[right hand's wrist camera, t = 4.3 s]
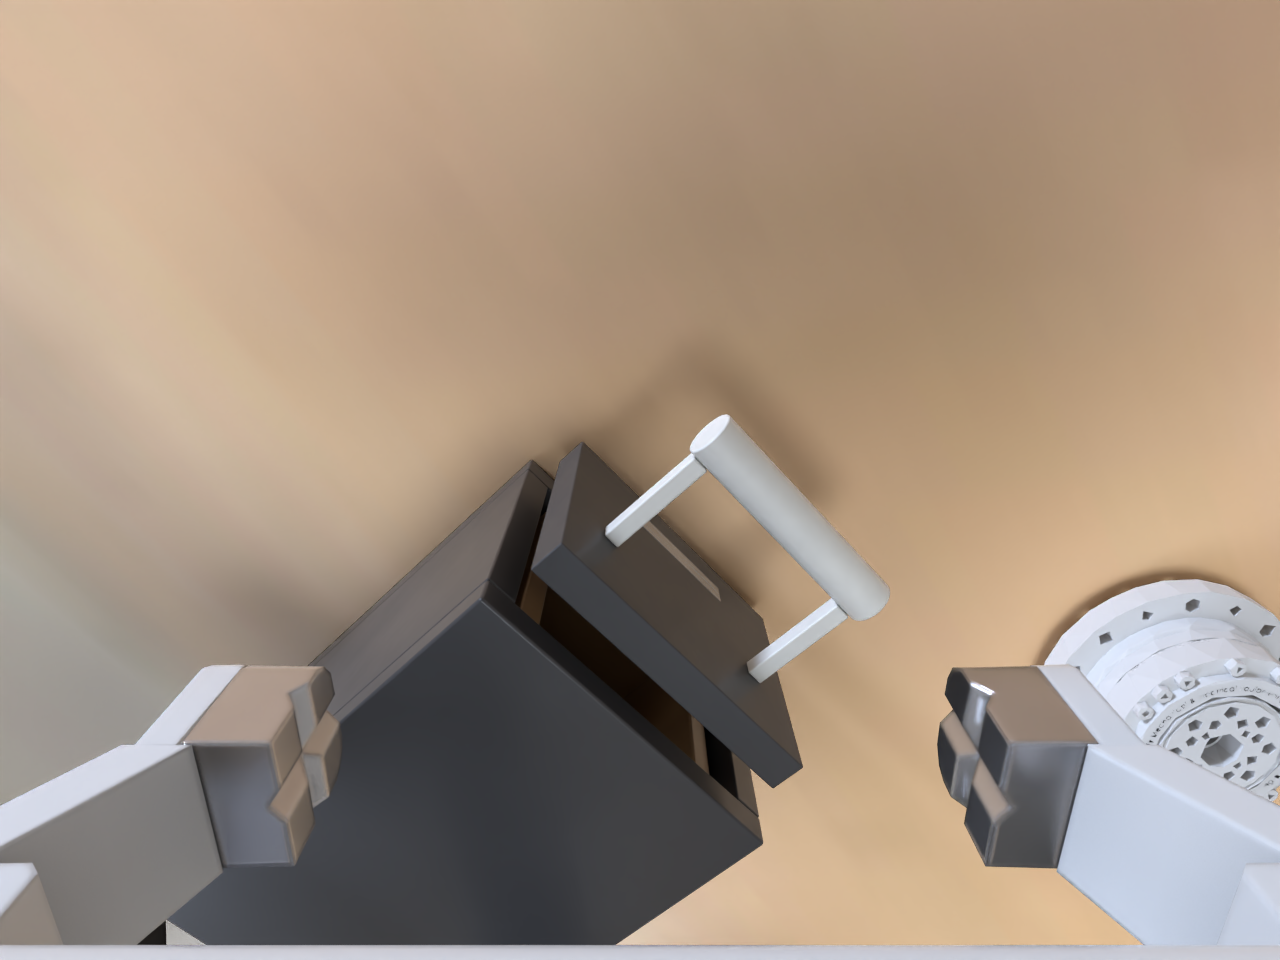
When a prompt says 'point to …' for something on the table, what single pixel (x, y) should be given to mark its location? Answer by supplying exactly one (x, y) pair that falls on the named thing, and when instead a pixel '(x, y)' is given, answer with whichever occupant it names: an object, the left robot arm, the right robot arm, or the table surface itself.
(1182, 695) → the mechanical component
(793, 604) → the table surface
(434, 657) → the cabinet
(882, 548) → the table surface
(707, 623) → the drawer
